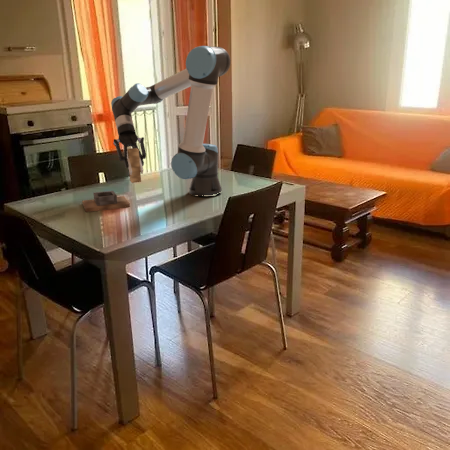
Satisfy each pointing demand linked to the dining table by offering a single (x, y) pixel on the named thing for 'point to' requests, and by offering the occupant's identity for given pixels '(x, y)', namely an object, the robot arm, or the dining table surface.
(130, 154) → the tan tall block
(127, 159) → the robot arm
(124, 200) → the post base
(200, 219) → the dining table surface
